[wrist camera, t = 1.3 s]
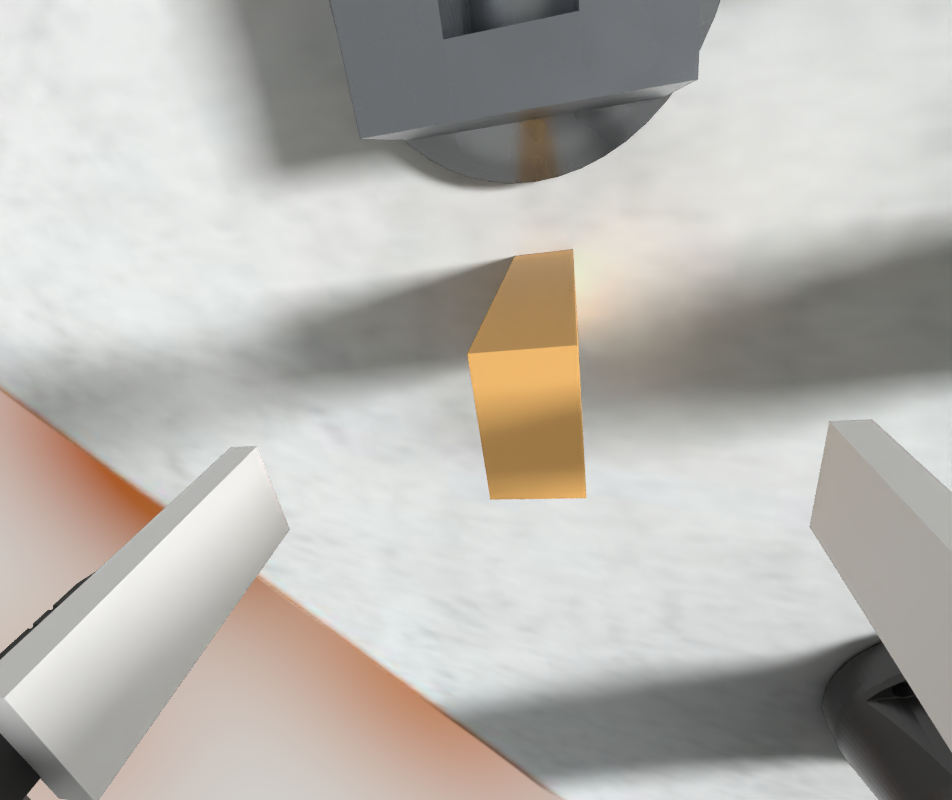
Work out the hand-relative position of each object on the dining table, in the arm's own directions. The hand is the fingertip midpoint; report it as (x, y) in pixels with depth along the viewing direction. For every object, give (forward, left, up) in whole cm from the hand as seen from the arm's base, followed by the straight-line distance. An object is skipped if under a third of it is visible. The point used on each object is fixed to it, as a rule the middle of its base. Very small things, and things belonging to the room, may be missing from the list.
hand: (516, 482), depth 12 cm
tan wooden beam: (0, 0, -17) cm, 17 cm away
